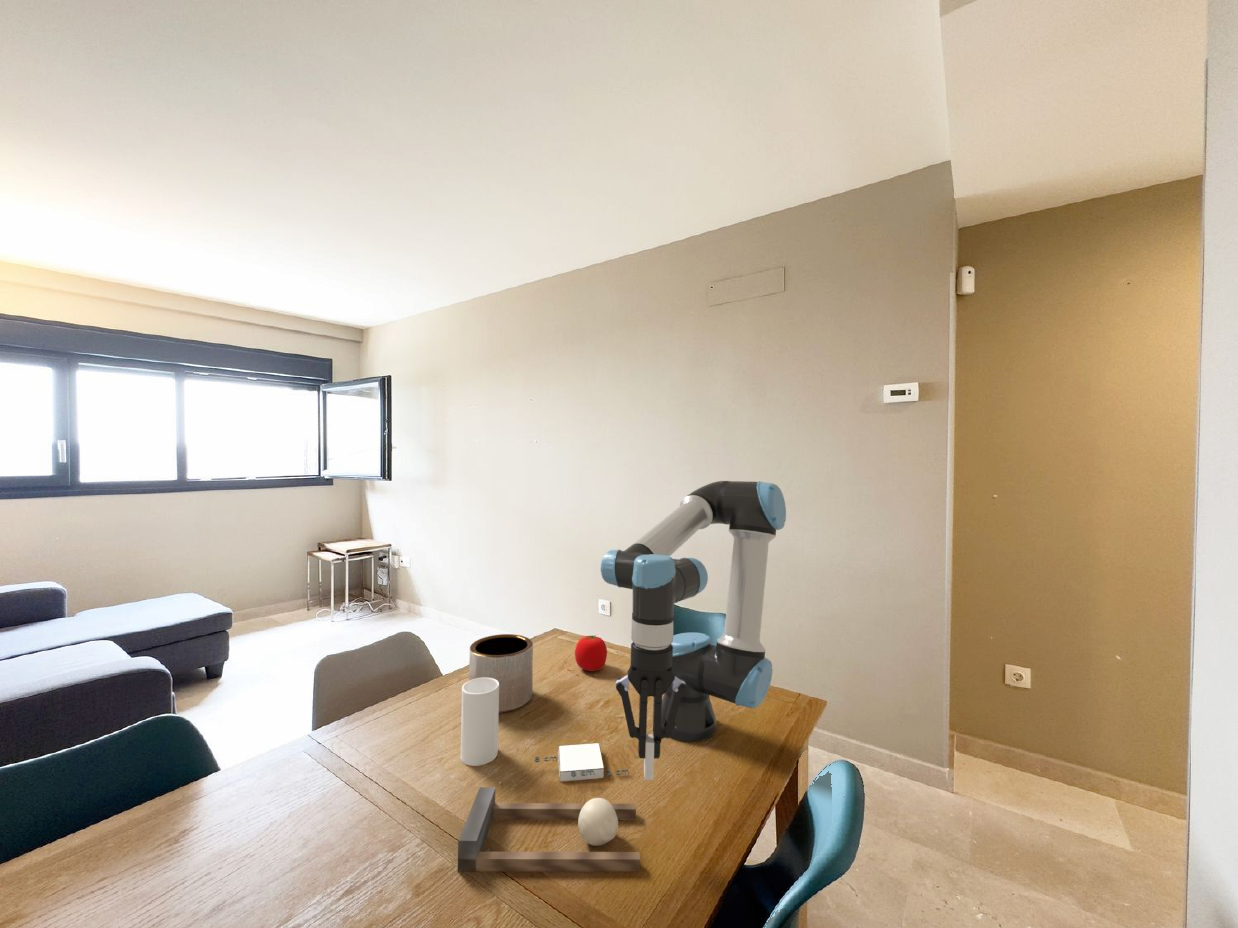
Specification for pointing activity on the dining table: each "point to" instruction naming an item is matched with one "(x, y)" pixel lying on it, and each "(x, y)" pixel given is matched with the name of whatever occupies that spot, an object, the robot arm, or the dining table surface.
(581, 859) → the channel
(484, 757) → the cup
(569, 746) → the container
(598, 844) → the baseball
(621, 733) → the dining table surface
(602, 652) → the tomato
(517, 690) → the planter
